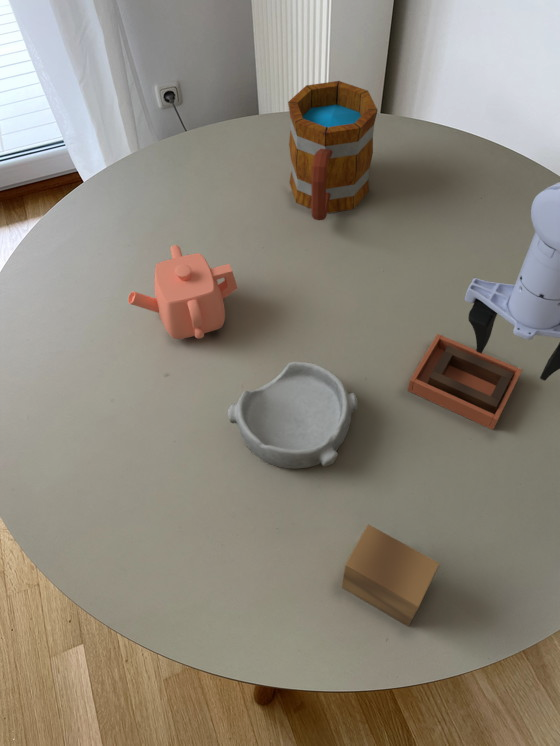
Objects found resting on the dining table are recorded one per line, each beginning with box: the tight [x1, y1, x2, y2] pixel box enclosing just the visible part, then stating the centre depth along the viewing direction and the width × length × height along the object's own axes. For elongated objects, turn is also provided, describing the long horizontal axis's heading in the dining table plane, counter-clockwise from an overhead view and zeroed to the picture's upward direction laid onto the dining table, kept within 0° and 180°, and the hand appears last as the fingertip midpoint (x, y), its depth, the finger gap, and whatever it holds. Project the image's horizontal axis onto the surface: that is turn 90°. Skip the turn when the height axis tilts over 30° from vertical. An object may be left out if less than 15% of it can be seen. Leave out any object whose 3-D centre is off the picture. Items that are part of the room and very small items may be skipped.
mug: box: [287, 80, 378, 221], centre depth 102 cm, size 20×14×15 cm
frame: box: [428, 345, 513, 414], centre depth 84 cm, size 9×6×2 cm, turn 59°
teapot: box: [127, 244, 239, 340], centre depth 90 cm, size 12×12×10 cm
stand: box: [341, 524, 440, 627], centre depth 68 cm, size 8×5×8 cm, turn 59°
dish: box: [227, 361, 358, 469], centre depth 81 cm, size 14×14×5 cm
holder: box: [407, 333, 523, 431], centre depth 85 cm, size 12×9×2 cm
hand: (513, 359), depth 76 cm, fingers open, 7 cm apart
